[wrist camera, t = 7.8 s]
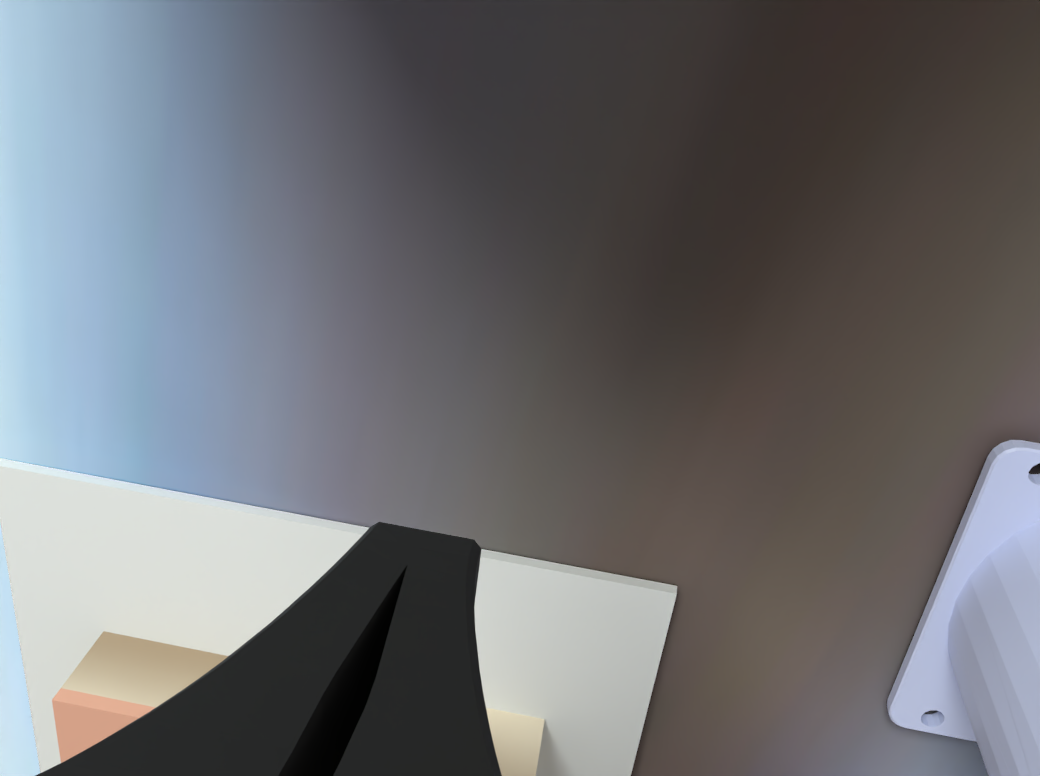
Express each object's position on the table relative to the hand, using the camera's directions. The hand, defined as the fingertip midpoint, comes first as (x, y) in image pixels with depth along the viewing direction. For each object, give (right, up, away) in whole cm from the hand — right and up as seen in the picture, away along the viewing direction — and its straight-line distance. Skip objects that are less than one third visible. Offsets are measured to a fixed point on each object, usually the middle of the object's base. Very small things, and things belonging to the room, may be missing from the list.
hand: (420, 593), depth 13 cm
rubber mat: (-4, -7, +15) cm, 17 cm away
